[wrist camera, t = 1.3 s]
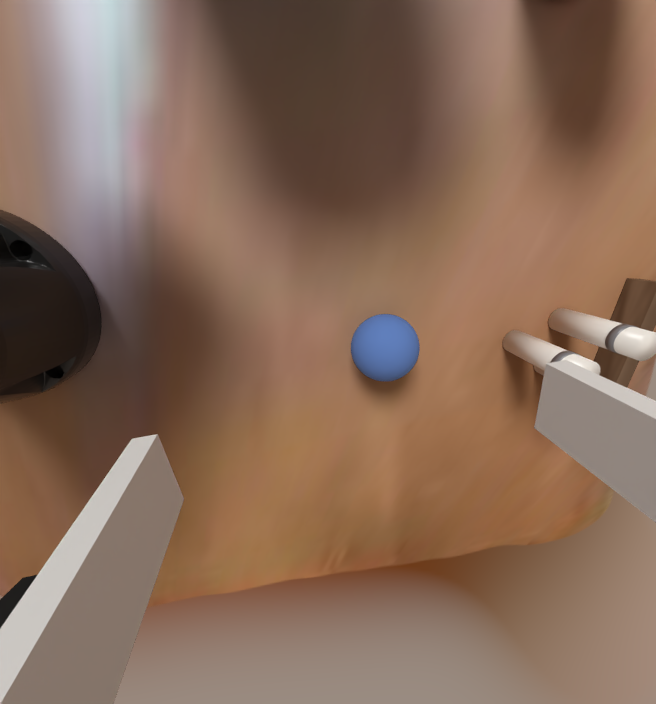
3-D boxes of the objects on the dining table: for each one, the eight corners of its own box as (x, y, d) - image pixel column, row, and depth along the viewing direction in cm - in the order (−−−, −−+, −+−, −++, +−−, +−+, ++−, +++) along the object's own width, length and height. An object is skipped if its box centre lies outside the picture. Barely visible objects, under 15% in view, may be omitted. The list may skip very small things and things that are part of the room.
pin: (544, 330, 32) (627, 361, 24) (552, 307, 31) (640, 331, 24) (565, 330, 33) (653, 361, 25) (573, 307, 32) (667, 332, 24)
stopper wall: (578, 398, 36) (603, 412, 33) (627, 278, 31) (660, 282, 29) (590, 398, 36) (615, 412, 34) (640, 279, 32) (674, 283, 29)
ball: (343, 364, 31) (355, 393, 25) (348, 306, 29) (363, 323, 23) (400, 365, 32) (424, 393, 26) (409, 308, 30) (437, 325, 24)
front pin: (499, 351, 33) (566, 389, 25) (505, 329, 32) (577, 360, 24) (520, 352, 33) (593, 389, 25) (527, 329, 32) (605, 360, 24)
